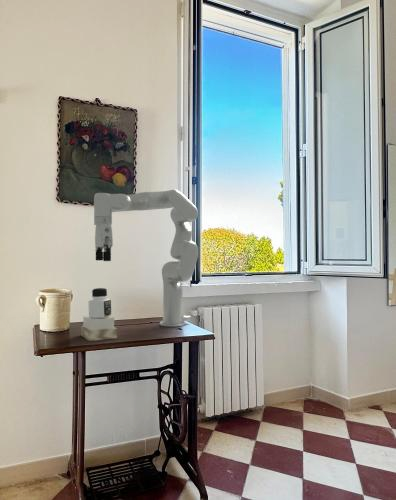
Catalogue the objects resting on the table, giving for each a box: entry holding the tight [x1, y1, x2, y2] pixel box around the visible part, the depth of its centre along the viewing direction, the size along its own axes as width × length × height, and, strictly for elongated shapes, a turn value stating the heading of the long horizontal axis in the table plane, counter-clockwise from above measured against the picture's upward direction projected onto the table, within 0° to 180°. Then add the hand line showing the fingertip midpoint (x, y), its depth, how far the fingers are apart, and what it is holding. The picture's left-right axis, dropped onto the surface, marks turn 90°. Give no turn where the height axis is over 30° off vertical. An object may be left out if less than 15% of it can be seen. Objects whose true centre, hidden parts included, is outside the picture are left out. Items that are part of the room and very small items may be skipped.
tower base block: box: [80, 325, 118, 342], centre depth 164 cm, size 12×12×4 cm
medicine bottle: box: [88, 287, 112, 318], centre depth 164 cm, size 7×7×12 cm
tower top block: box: [82, 315, 115, 331], centre depth 164 cm, size 10×10×4 cm
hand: (103, 260), depth 168 cm, fingers open, 9 cm apart
